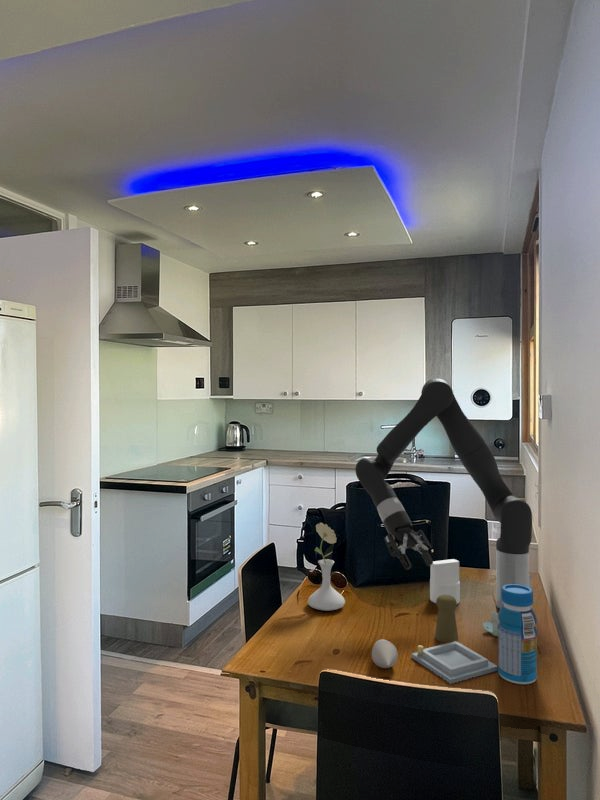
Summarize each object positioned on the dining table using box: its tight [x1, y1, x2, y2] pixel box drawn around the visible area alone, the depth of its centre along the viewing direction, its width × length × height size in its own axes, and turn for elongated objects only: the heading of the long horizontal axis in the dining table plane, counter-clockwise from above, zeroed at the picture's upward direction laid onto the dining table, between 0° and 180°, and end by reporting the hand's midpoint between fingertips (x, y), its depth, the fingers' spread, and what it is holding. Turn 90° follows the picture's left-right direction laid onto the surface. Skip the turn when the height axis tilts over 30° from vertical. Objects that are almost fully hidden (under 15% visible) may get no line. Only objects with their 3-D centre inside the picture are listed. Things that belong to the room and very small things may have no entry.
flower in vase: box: [307, 522, 346, 612], centre depth 170 cm, size 13×11×25 cm
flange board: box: [411, 641, 498, 685], centre depth 133 cm, size 14×14×3 cm
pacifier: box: [482, 611, 500, 638], centre depth 150 cm, size 7×6×6 cm
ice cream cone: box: [371, 638, 399, 669], centre depth 130 cm, size 6×6×15 cm
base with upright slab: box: [429, 558, 461, 604], centre depth 175 cm, size 9×9×12 cm
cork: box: [434, 595, 459, 644], centre depth 147 cm, size 6×6×11 cm
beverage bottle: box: [497, 584, 538, 685], centre depth 127 cm, size 8×8×20 cm
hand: (419, 566), depth 156 cm, fingers open, 8 cm apart
